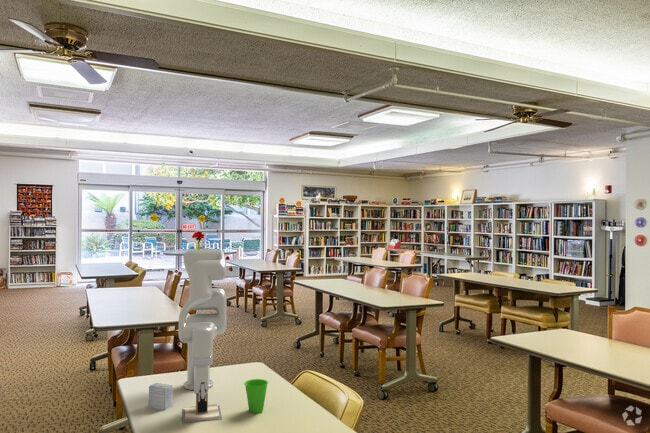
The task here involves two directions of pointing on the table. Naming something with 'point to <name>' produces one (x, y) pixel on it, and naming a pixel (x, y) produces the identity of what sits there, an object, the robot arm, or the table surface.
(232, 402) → the table surface
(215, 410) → the lid
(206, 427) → the table surface
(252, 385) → the cup
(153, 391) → the medicine box
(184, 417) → the mat
